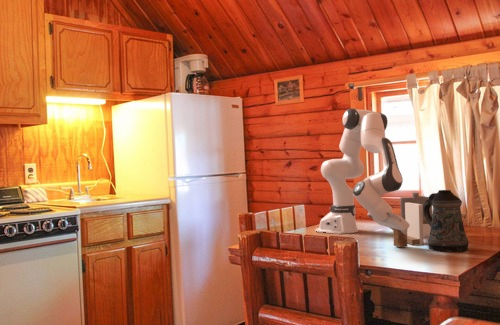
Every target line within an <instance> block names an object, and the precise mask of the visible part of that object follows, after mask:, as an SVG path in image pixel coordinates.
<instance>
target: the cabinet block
mask: <svg viewBox="0 0 500 325" xmlns="http://www.w3.org/2000/svg"><path fill="white" fill-rule="evenodd" d="M406 231H407V230H406ZM392 232H393V237H392V238H393V246H394V247H398V248H404V247H405V248H406V247H408V244H407V234H406V235H404V234H402V233H401V230H398V229H394V228H393V230H392Z"/></svg>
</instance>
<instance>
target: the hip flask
mask: <svg viewBox="0 0 500 325" xmlns="http://www.w3.org/2000/svg"><path fill="white" fill-rule="evenodd" d="M411 195H412V196H405V197H400V198H399V199H400V216H401V217H402V218H405V203H416V204H423V205H424V202H425V201H426V200H429V196H424V195H423V196H422V195H420V192H415V191H414V192H412V193H411ZM429 211H430V215H431V217H432V214H433V206H430V210H429ZM423 218H425V217H424V214H423Z"/></svg>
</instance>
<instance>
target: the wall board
mask: <svg viewBox="0 0 500 325" xmlns="http://www.w3.org/2000/svg"><path fill="white" fill-rule="evenodd" d="M405 220H406V221H407V222H408V223H409V225H410V226H409V228H408V229H407V245H409V246H419V245H421V246H422V245H424V236H423V204H416V203H405Z"/></svg>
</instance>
